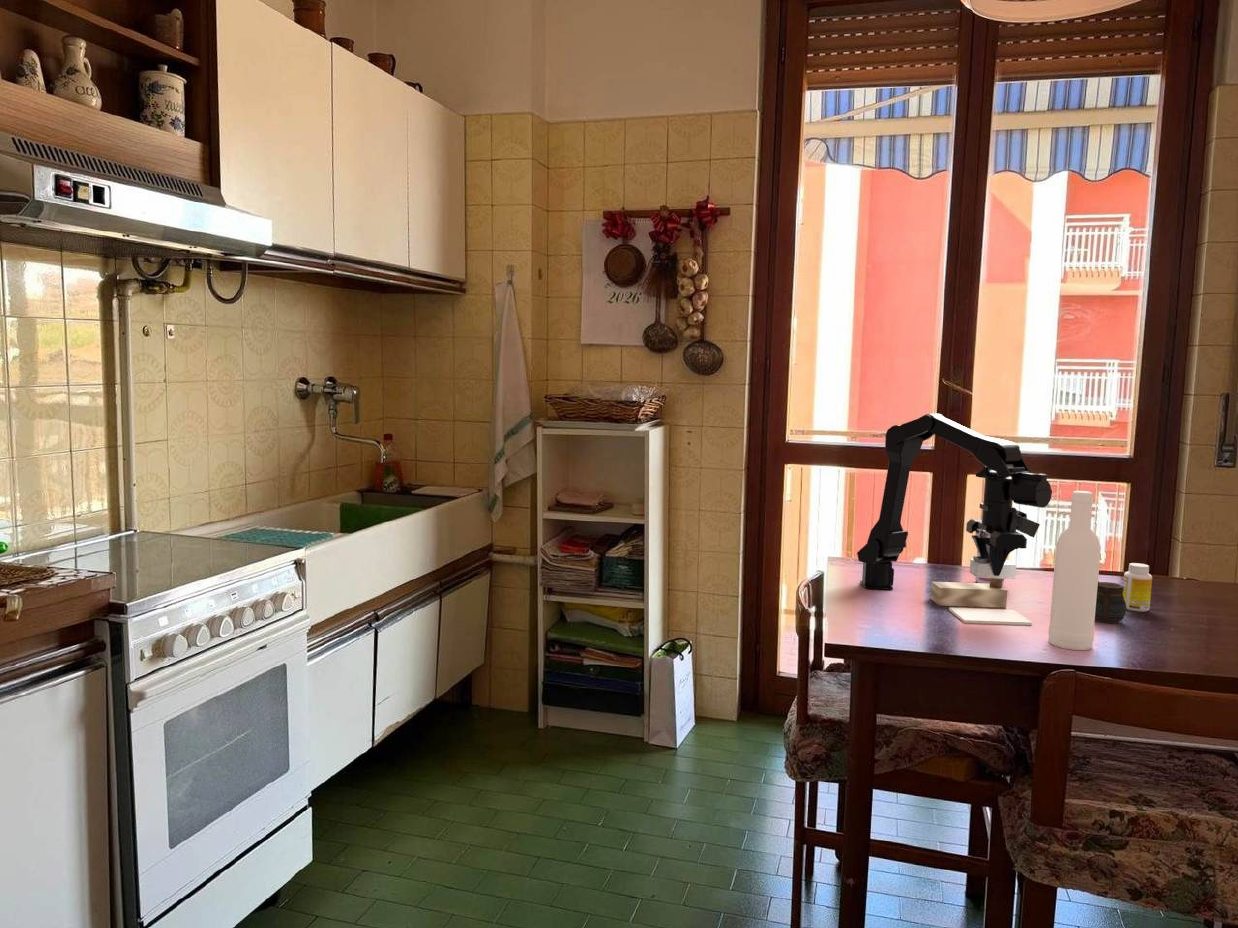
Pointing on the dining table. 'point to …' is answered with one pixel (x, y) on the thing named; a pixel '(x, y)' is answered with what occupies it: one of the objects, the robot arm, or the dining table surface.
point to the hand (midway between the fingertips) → (992, 572)
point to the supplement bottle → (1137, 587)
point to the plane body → (970, 594)
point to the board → (990, 616)
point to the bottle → (1075, 579)
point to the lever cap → (983, 568)
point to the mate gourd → (1110, 602)
